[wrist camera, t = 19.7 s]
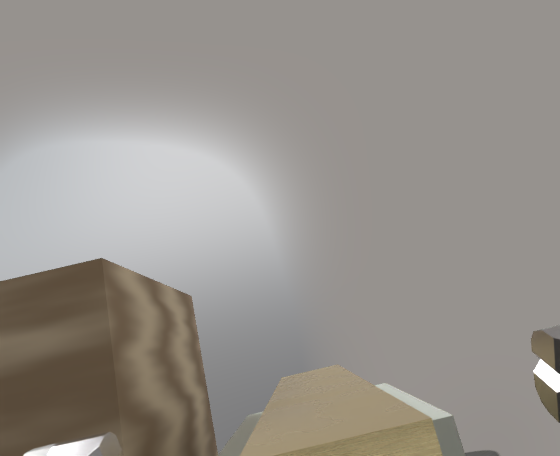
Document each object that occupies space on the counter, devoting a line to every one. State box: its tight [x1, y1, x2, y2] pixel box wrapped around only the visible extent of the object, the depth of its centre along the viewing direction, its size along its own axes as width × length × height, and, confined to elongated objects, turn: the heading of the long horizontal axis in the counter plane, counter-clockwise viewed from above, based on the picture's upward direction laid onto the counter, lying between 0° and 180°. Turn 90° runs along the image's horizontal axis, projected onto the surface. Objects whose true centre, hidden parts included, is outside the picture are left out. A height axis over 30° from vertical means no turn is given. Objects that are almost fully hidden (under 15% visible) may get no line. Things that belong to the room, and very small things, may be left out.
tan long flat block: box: [240, 365, 443, 456], centre depth 19 cm, size 22×4×2 cm, turn 177°
